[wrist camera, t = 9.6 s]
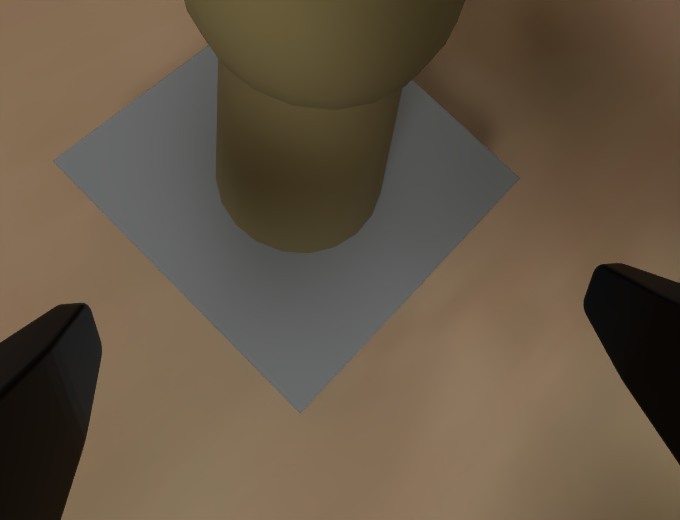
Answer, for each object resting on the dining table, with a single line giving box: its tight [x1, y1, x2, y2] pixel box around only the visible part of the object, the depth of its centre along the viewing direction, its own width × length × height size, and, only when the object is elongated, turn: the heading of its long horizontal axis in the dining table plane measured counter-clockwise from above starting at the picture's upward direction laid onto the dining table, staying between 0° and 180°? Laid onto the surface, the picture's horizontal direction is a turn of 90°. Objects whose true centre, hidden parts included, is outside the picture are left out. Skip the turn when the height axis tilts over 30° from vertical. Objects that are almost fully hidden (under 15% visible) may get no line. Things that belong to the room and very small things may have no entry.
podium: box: [53, 46, 520, 413], centre depth 19 cm, size 12×12×4 cm
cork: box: [184, 0, 465, 253], centre depth 12 cm, size 6×6×11 cm
